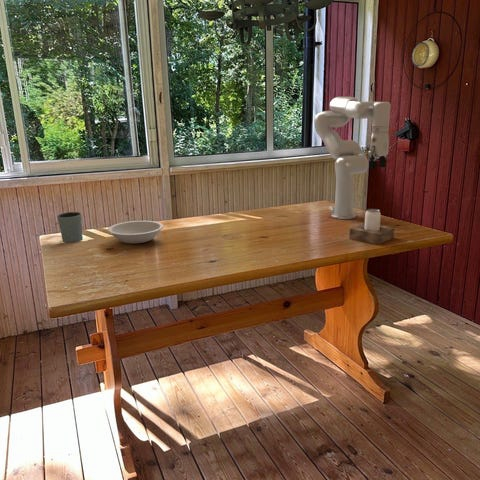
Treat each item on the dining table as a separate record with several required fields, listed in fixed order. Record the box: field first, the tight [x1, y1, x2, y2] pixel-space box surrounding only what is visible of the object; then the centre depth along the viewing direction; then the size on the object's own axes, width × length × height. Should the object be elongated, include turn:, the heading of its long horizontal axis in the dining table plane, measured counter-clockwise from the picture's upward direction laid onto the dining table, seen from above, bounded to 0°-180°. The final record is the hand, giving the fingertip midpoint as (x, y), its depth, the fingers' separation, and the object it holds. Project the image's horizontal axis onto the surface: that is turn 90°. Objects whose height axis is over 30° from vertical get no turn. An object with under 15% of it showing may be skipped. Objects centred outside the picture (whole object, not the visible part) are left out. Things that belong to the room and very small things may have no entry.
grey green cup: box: [56, 211, 83, 244], centre depth 201 cm, size 10×10×12 cm
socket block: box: [348, 222, 395, 246], centre depth 198 cm, size 14×14×4 cm
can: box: [364, 208, 382, 231], centre depth 197 cm, size 6×6×12 cm
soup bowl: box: [107, 220, 164, 245], centre depth 198 cm, size 24×24×7 cm
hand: (377, 168), depth 208 cm, fingers open, 9 cm apart
